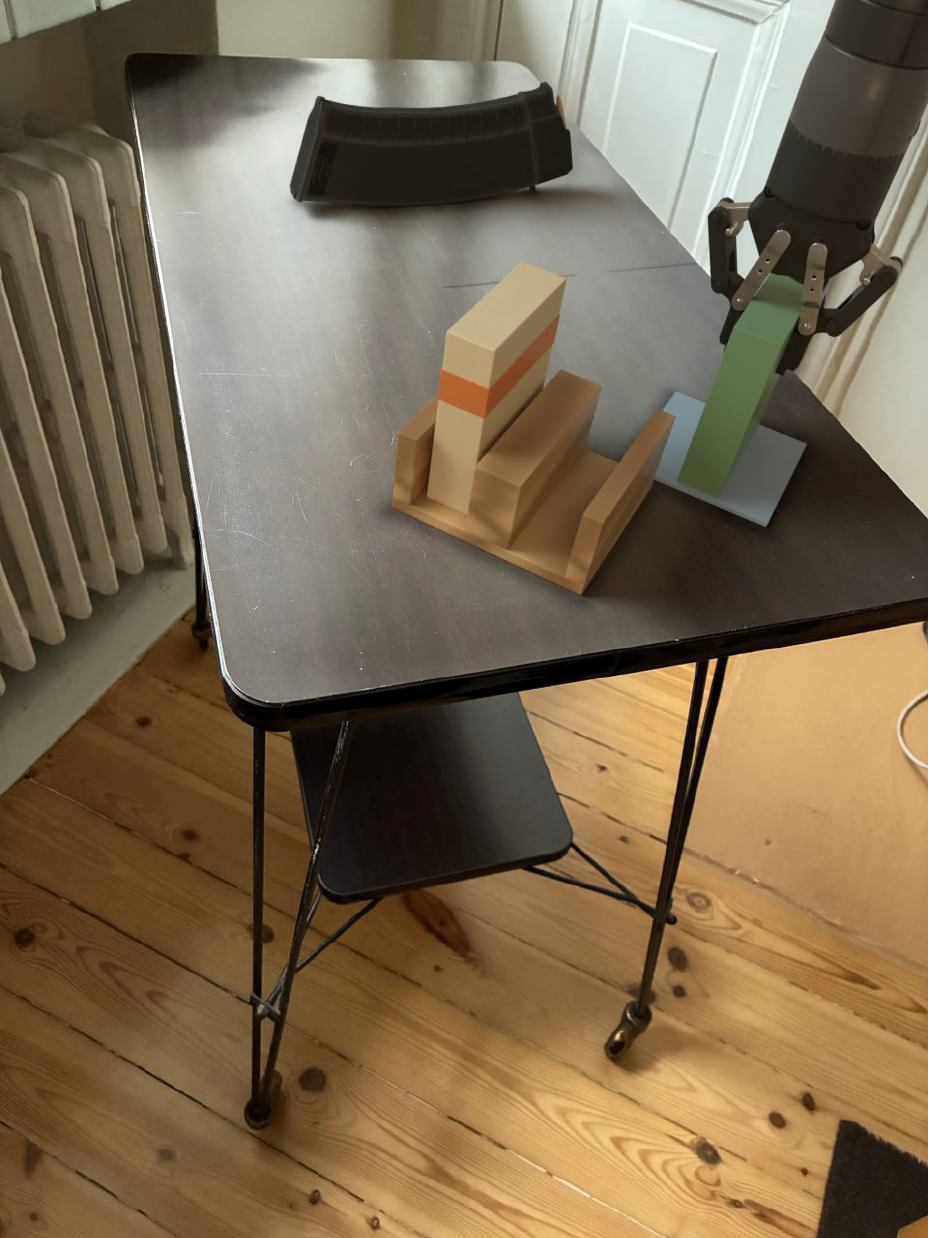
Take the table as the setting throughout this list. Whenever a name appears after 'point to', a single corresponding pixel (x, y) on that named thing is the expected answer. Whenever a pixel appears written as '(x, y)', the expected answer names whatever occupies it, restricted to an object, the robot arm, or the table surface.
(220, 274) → the table surface
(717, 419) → the green book
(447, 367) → the cream book
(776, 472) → the felt pad
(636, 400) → the table surface
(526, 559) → the book rack
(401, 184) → the magazine
